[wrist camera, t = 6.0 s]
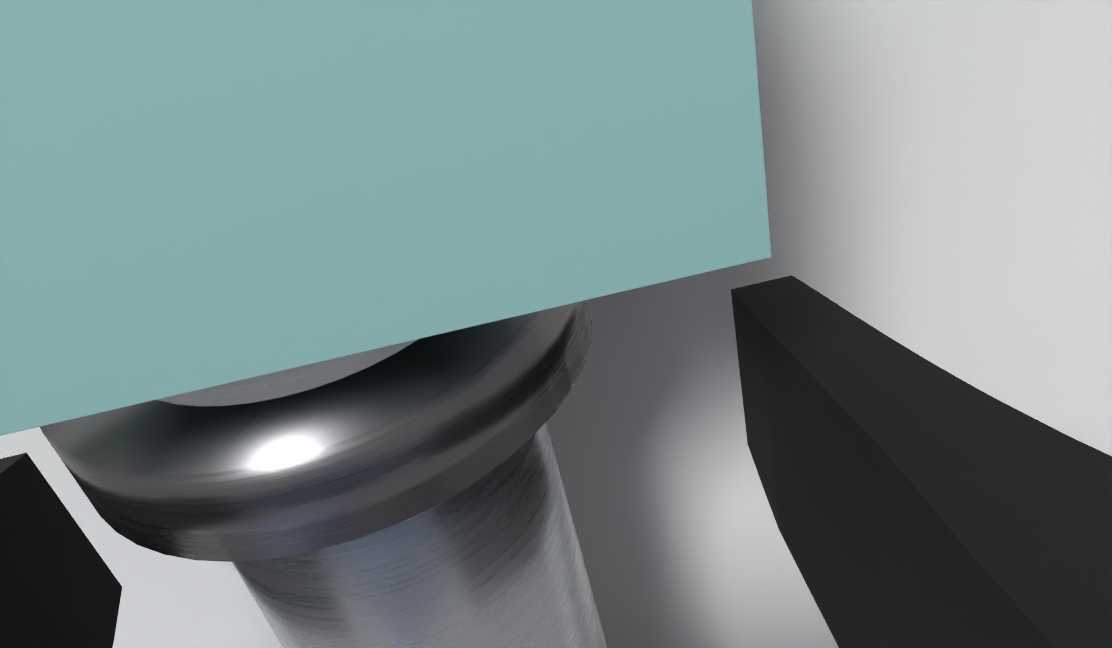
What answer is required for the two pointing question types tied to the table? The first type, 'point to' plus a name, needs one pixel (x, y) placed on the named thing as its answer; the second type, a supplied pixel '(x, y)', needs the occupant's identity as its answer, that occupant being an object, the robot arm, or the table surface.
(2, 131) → the teal translucent block
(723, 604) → the table surface
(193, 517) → the silver cylinder
